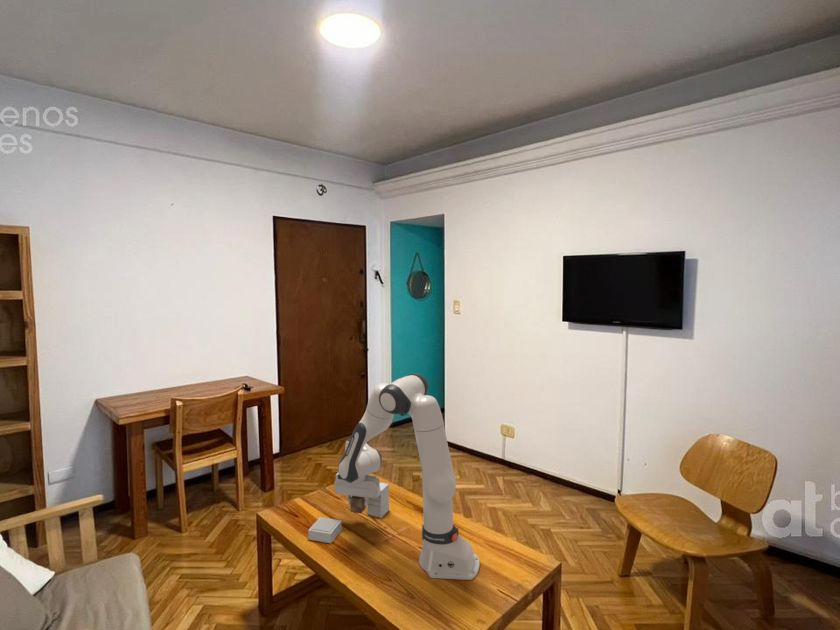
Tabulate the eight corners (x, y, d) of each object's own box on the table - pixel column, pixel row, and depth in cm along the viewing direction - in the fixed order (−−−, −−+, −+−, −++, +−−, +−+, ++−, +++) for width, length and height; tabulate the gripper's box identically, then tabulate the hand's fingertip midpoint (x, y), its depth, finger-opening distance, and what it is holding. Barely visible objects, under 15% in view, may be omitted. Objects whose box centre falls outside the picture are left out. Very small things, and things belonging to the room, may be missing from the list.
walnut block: (366, 507, 195) (365, 494, 194) (361, 513, 190) (360, 499, 190) (355, 506, 196) (355, 492, 196) (350, 512, 192) (349, 498, 191)
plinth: (341, 529, 190) (341, 519, 189) (330, 543, 180) (330, 533, 180) (320, 526, 192) (320, 516, 192) (308, 539, 183) (308, 529, 182)
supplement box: (375, 506, 208) (375, 480, 207) (389, 510, 205) (389, 483, 204) (367, 514, 202) (366, 487, 200) (381, 518, 198) (380, 490, 197)
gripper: (382, 473, 192) (383, 504, 193) (338, 468, 198) (340, 498, 199) (376, 479, 186) (377, 511, 187) (331, 474, 192) (333, 505, 193)
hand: (358, 505), depth 193 cm, fingers closed on walnut block, 5 cm apart
